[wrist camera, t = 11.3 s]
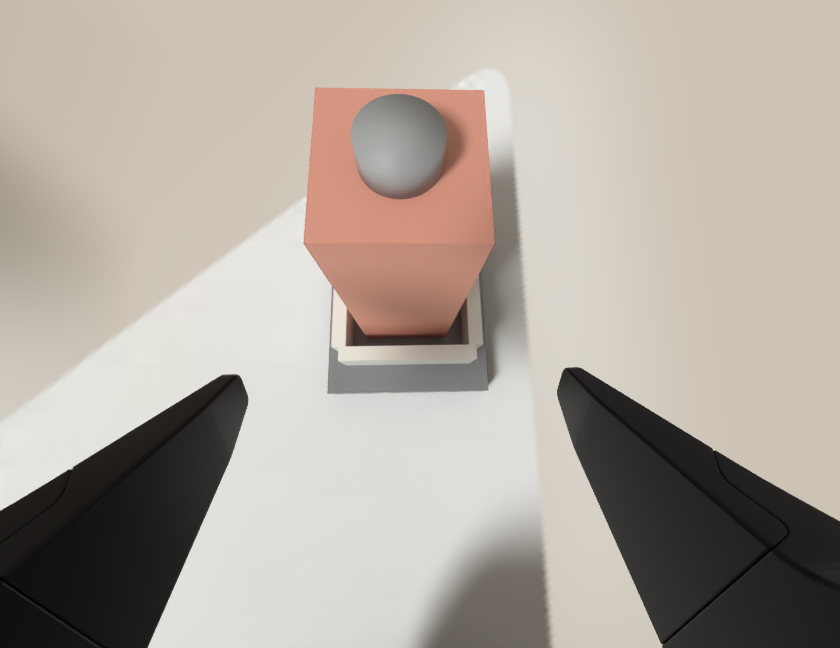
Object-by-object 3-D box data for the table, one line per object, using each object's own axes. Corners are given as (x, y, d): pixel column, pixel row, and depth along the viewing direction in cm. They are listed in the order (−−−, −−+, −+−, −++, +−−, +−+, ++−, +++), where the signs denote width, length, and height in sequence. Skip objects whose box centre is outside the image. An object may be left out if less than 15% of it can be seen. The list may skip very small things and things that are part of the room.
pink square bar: (444, 337, 21) (505, 223, 8) (367, 338, 21) (289, 222, 8) (442, 265, 22) (492, 55, 9) (369, 265, 22) (304, 52, 9)
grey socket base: (483, 391, 22) (498, 388, 18) (333, 394, 22) (316, 392, 18) (472, 229, 25) (484, 196, 21) (339, 229, 25) (326, 197, 21)
